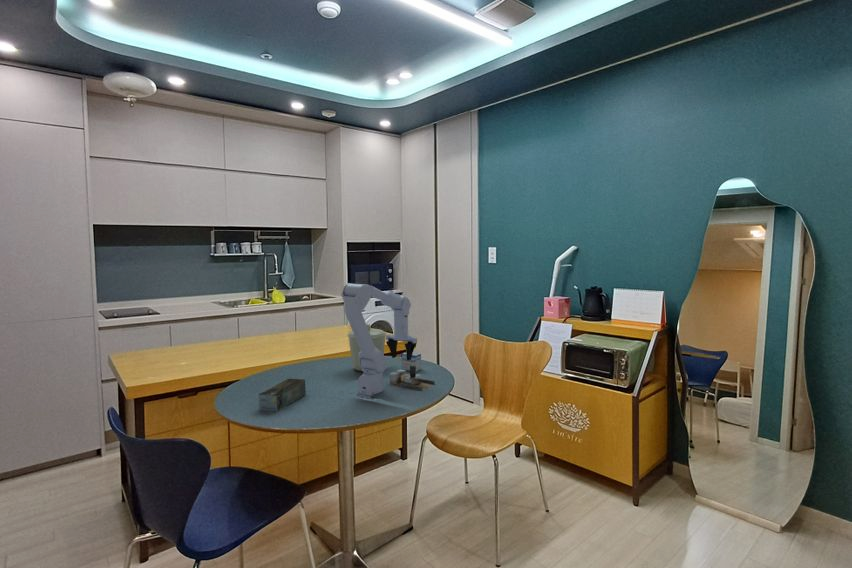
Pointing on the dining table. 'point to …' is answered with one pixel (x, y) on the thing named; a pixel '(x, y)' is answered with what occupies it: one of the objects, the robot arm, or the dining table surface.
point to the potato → (404, 377)
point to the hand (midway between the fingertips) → (401, 358)
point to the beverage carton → (282, 394)
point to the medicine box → (411, 361)
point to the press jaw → (413, 377)
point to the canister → (378, 341)
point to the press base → (396, 381)
